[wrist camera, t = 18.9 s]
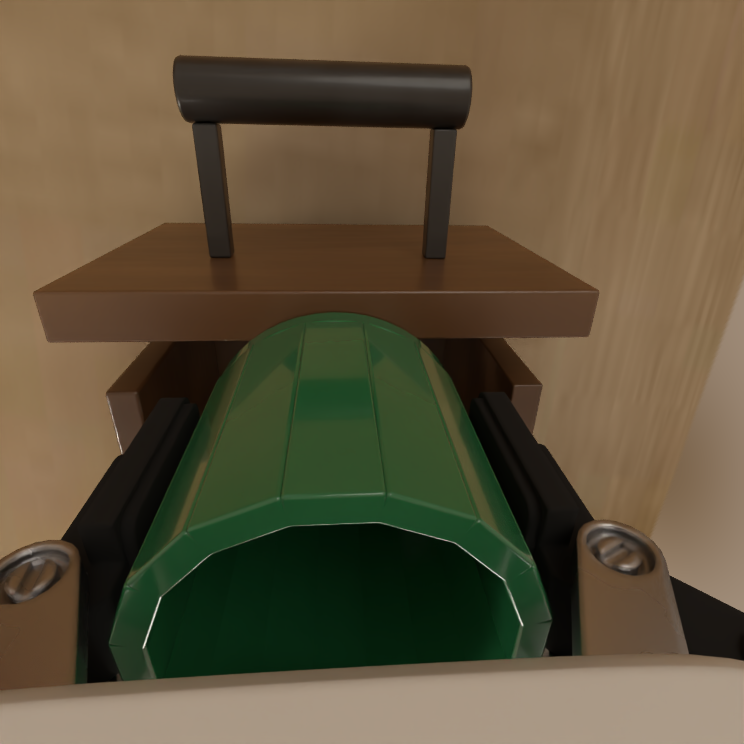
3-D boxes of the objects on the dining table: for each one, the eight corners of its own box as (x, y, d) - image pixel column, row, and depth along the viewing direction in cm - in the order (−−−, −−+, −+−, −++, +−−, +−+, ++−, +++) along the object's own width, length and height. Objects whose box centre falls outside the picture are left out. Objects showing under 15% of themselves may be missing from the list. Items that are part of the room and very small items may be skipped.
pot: (228, 520, 13) (158, 780, 8) (193, 312, 10) (49, 505, 5) (445, 511, 14) (514, 753, 8) (469, 309, 11) (595, 485, 6)
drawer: (138, 77, 16) (-54, 19, 8) (505, 88, 17) (661, 47, 9) (215, 529, 25) (161, 713, 17) (451, 520, 26) (504, 690, 18)
